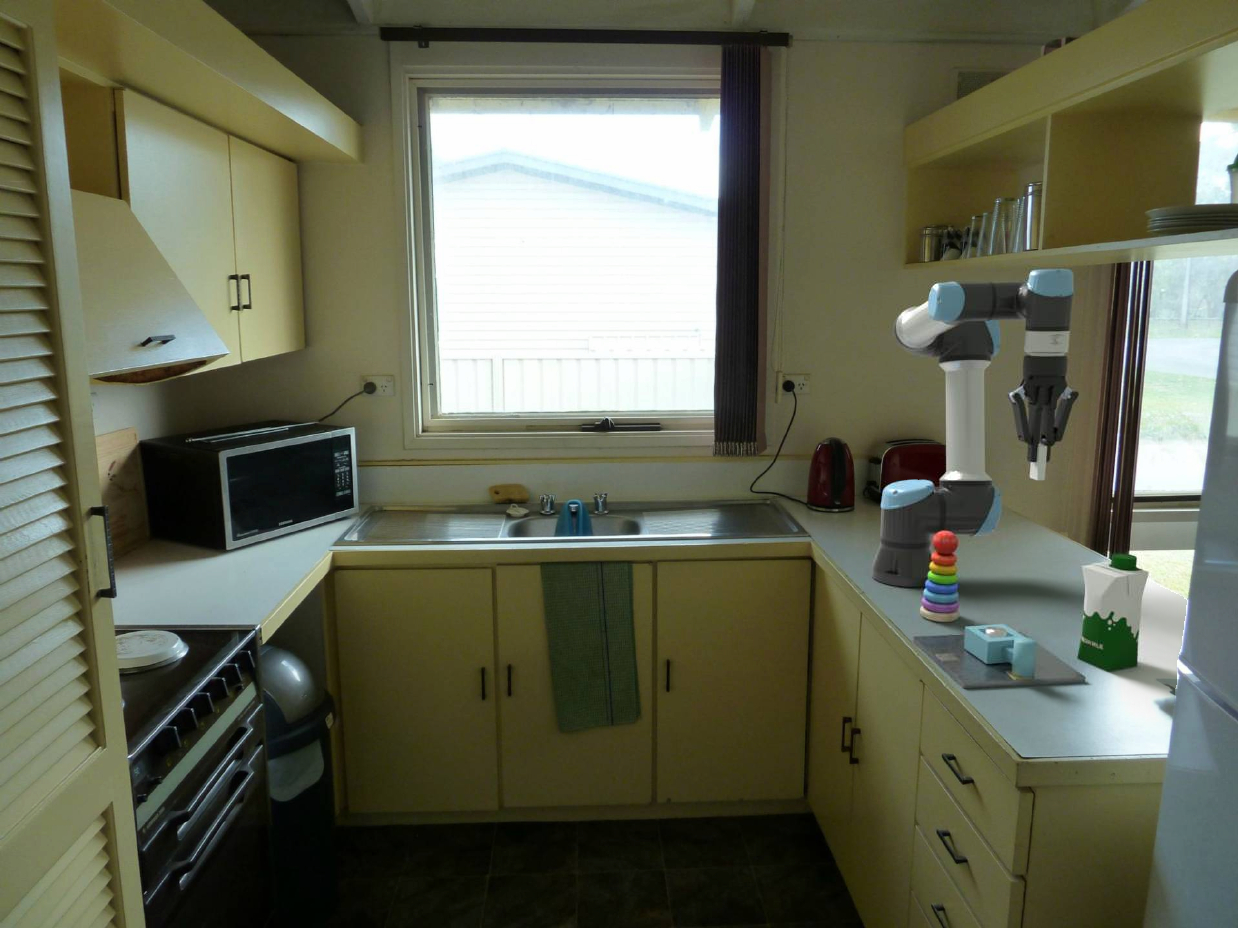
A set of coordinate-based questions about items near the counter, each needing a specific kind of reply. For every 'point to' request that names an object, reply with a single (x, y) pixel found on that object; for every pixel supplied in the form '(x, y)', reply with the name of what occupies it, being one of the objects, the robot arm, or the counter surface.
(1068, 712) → the counter surface
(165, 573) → the counter surface
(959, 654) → the post plate
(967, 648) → the blue handled square frame
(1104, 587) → the milk carton
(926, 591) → the stacking toy
